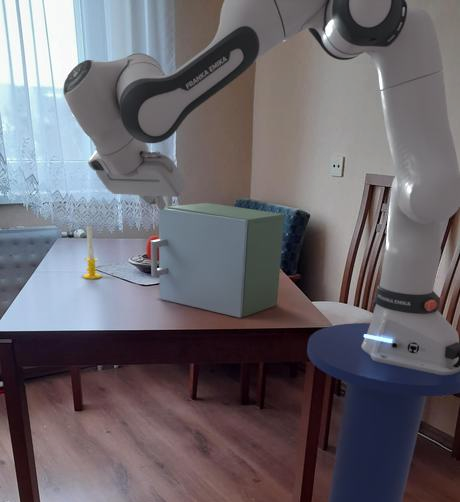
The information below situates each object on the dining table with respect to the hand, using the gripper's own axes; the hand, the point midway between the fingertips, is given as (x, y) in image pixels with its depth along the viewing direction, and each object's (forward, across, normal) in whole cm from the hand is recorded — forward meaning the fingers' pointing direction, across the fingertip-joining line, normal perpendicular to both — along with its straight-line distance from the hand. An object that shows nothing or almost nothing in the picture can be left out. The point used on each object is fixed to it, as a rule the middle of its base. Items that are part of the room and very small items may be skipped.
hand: (159, 207), depth 118 cm
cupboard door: (+31, +6, +4) cm, 32 cm away
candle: (+32, +50, -1) cm, 59 cm away
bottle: (+41, +30, -10) cm, 52 cm away
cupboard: (+39, +6, -6) cm, 40 cm away
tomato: (+49, +46, -21) cm, 71 cm away
